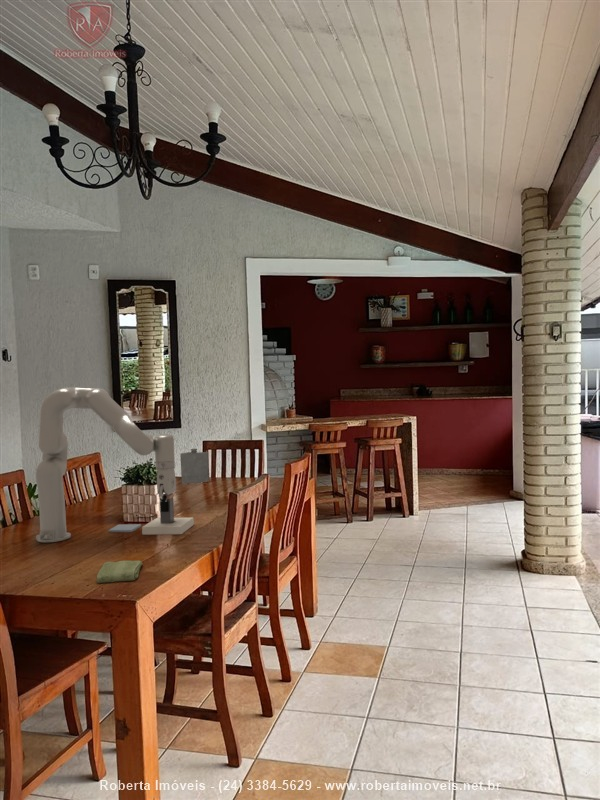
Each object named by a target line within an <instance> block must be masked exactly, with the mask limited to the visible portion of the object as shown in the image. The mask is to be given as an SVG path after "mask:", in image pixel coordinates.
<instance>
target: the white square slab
mask: <svg viewBox="0 0 600 800" xmlns="http://www.w3.org/2000/svg"><path fill="white" fill-rule="evenodd" d="M194 524H195V521H194V517H174V521H173V522H172V523H161V521H160V517H156V518H154V519H153V520H151V521H149V522H148V523H146V524H144V525H143V526H141V529H142V530H141V532H142V535H143V536H145V535H151V536H152V535H183V534H184V533H185V532H187V530H189V529H190V528H191V527H193V526H194Z"/></svg>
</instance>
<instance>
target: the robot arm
mask: <svg viewBox="0 0 600 800" xmlns="http://www.w3.org/2000/svg"><path fill="white" fill-rule="evenodd" d="M71 409H86V410H91V411H93V412H94V413H95V415H97V416H98V417H99V418H100V419H102V421H103V422H105V424H106V425H108V426H109V427H110V429H112V431H114V432H115V433H116V435H118V436H119V437H120V439H122V440H123V441H124V443H126V445H128V446H129V447H130V449H132V450H133V451H134V452H135V453H136V454H138V455H140V456H148V455H150V454H152V453H154V454H155V455H154V456H155V470H156V490H157V491H156V493H157V494H158V499H159V498H160V499H159V506H160V505H161V512H168V511H169V502H167V501H168V495H169V494H173V495H174V493H175V492H176V490H177V480H176V471H175V468H176V467H175V466H176V465H175V464H176V463H175V461H176V460H175V439H174V438H175V437H174V436H173V435H172V434H165V433H164V434H156V435H155V434H153V435H152V434H146V433H144V431H142V430H141V429H140V428H139V427H138V425H136V423H134V421H133V420H132V418H131V417H130V415H129V414H128V412H127V411H126V410H125V409H124V408H122V406H120V405H119V404H118V402H116V401H115V400H114V398H112V397H111V396H110V394H109V393H108V390H107V391H106V390H105V389H103V388H101V387H95V388H93V387H90V388H89V387H88V388H87V387H86V388H85V387H63V388H59V389H56V390H54V391H53V392H50V393H49V394H48V395H47V396H46V397H45V398H44V399H43V401H42V404H41V407H40V412H39V413H40V415H39V417H40V418H39V429H38V431H39V435H38V448H39V450H40V452H41V453H42V460H41V462H39V463H38V465H37V466H36V469H35V470H36V471H35V479H36V486H37V496H38V497H37V498H38V509H39V511H38V512H39V527H40V530H39V531H40V532H39V534H37V535H35V539H36V542H38V543H44V544H45V543H57V542H62V541H66V540H68V539H71V537H72V534H71V532H67V519H66V518H67V516H66V515H67V514H66V502H65V501H66V499H65V487H64V482H63V481H64V480H63V476H64V475H65V474H66V472H67V467H68V437H67V435H66V434H65V433H64V412H65V411H66V410H71Z"/></svg>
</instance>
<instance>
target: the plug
mask: <svg viewBox="0 0 600 800" xmlns="http://www.w3.org/2000/svg"><path fill="white" fill-rule="evenodd" d="M158 499H159V500H160V498H159V497H158ZM167 502H169V511H168V512H161V505H160V504H159V516H160V517H159V518H160V521H161V523H172V522H173V521H174V518H175V510H174V509H175V506H174V505H175V504H174V493H173V494H169V495H168V501H167Z"/></svg>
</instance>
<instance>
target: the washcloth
mask: <svg viewBox="0 0 600 800" xmlns="http://www.w3.org/2000/svg"><path fill="white" fill-rule="evenodd" d="M143 565H144V563H143V561H141V560H119V561H115V562H114V561H106V562H104V563H103V564H102V565H101V567H100V568H99V571H98V572H97V576H96V582H97V584H104V583H114V582H130V581H131V582H132V581H136V580H137V579H138V578H139V573H140V571H141V567H142V566H143Z"/></svg>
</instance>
